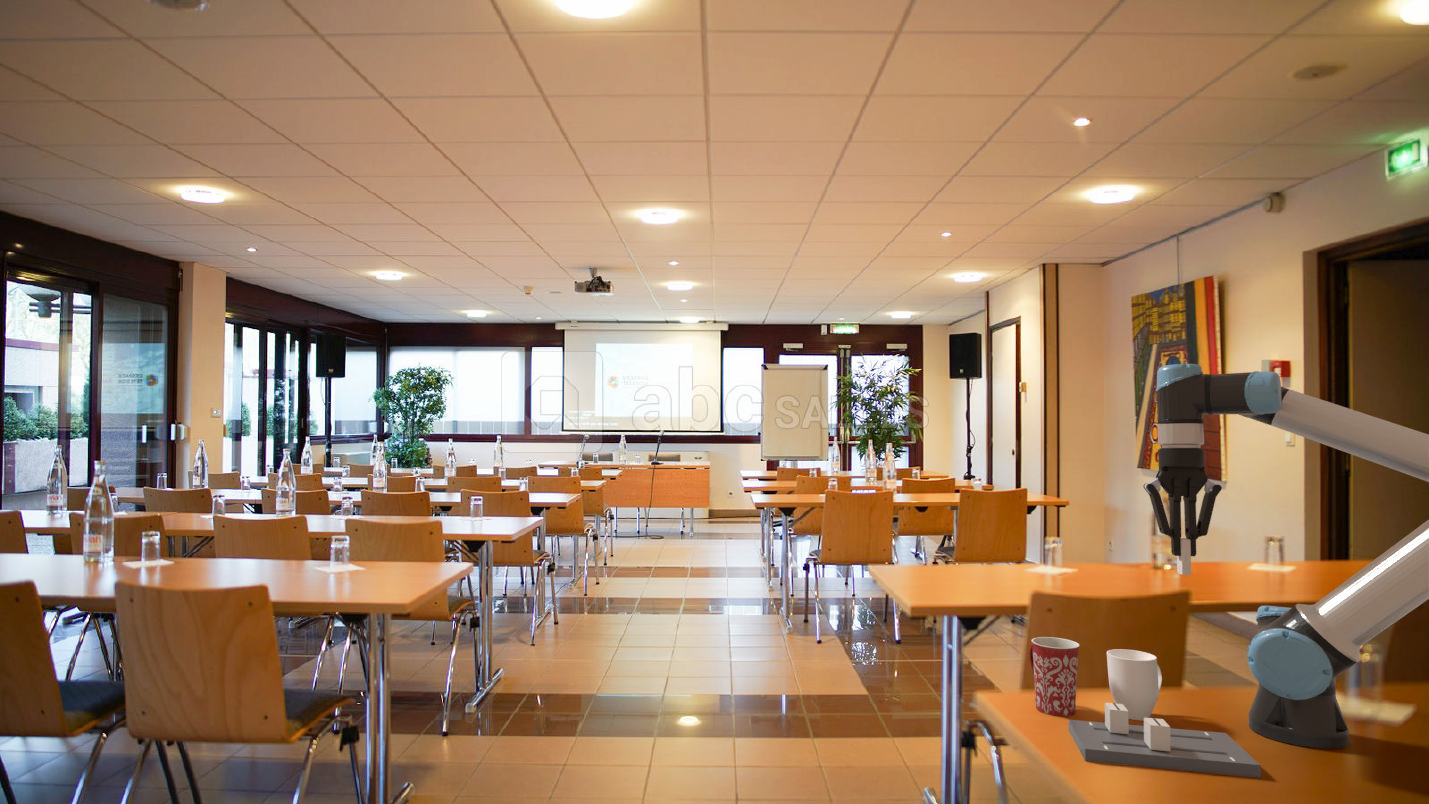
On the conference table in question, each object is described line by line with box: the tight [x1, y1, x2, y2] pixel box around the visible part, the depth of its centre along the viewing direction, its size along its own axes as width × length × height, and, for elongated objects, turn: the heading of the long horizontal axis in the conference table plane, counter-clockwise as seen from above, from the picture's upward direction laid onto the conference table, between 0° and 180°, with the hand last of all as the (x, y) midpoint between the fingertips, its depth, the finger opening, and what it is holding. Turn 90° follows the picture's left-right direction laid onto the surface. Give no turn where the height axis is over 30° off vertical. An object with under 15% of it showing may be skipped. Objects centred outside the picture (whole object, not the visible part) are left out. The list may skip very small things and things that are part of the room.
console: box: [1068, 719, 1262, 779], centre depth 140 cm, size 26×15×2 cm, turn 76°
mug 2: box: [1106, 648, 1163, 721], centre depth 160 cm, size 12×9×12 cm
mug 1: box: [1028, 636, 1081, 717], centre depth 164 cm, size 13×9×14 cm
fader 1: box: [1104, 702, 1130, 734], centre depth 145 cm, size 3×4×4 cm
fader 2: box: [1143, 717, 1171, 751], centre depth 137 cm, size 3×4×4 cm
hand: (1184, 573), depth 151 cm, fingers closed
